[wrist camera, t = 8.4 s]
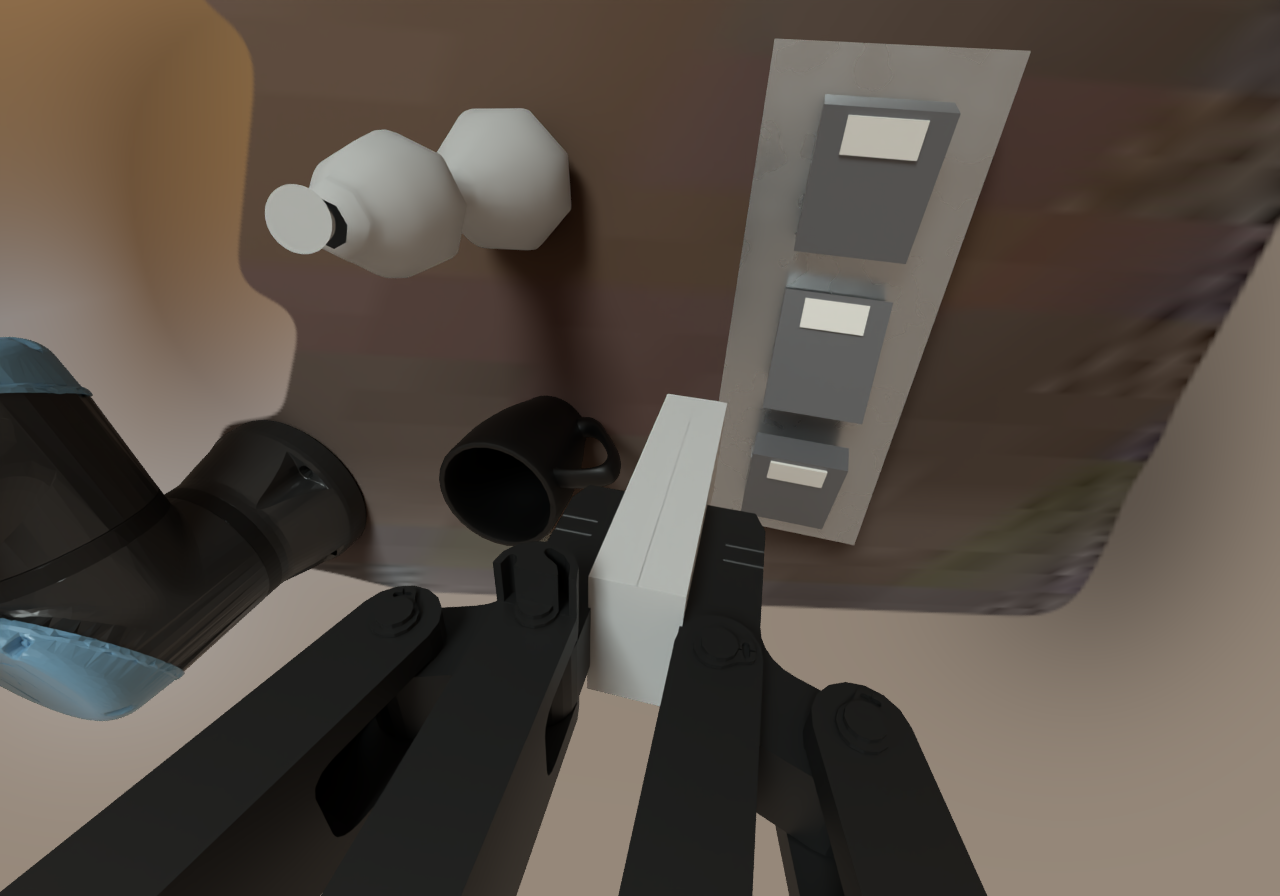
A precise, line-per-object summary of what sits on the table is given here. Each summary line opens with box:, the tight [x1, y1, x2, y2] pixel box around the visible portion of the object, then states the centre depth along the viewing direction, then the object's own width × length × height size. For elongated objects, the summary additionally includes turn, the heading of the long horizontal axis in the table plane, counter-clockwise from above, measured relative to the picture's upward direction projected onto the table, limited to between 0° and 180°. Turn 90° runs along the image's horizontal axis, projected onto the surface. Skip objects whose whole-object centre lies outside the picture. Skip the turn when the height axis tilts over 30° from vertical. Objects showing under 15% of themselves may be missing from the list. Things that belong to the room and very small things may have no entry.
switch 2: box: [763, 289, 893, 424], centre depth 28 cm, size 5×6×2 cm
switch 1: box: [794, 94, 961, 264], centre depth 24 cm, size 5×6×2 cm
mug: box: [439, 396, 621, 546], centre depth 39 cm, size 8×12×10 cm
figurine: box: [265, 108, 571, 278], centre depth 26 cm, size 8×8×20 cm
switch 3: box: [741, 432, 849, 529], centre depth 32 cm, size 5×6×2 cm
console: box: [711, 39, 1031, 545], centre depth 31 cm, size 10×26×6 cm, turn 177°
